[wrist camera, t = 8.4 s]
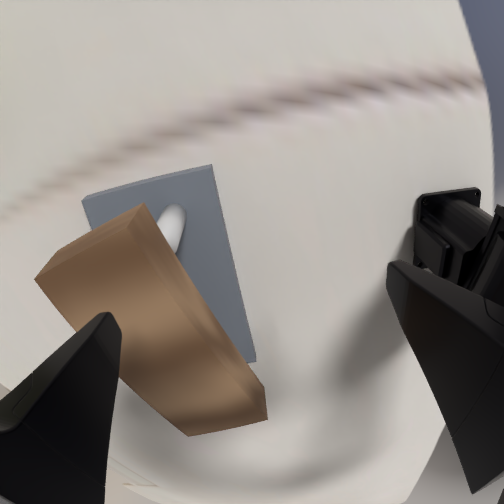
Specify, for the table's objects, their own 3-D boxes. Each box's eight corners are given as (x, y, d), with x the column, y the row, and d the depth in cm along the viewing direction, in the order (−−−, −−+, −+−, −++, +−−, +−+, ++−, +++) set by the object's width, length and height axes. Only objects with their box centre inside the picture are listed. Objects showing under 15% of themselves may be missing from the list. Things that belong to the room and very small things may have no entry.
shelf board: (264, 387, 22) (267, 419, 20) (190, 406, 23) (188, 436, 21) (144, 202, 15) (126, 227, 12) (57, 250, 16) (34, 279, 13)
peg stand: (87, 195, 19) (53, 225, 15) (211, 164, 19) (205, 188, 15) (161, 364, 28) (154, 407, 23) (255, 353, 27) (259, 397, 23)
